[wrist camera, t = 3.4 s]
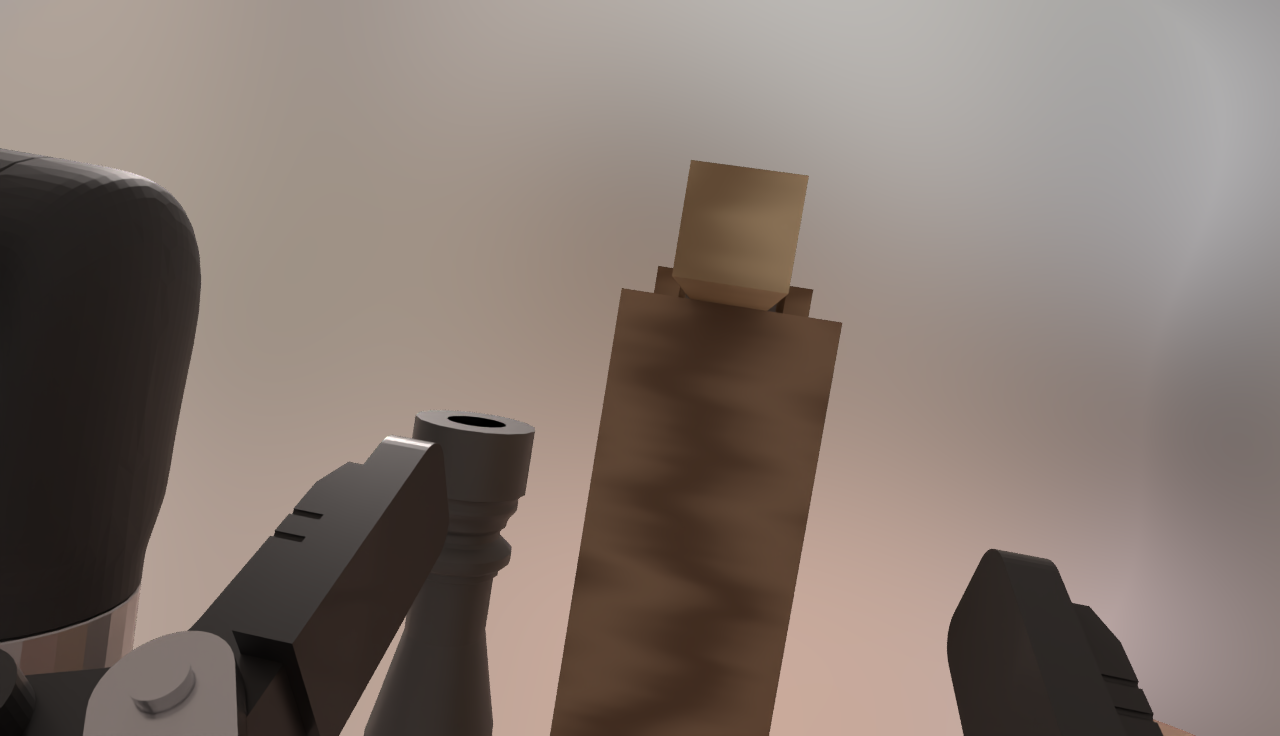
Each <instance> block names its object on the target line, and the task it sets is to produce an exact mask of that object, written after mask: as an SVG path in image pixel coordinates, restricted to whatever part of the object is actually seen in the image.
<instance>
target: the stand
mask: <svg viewBox="0 0 1280 736" xmlns="http://www.w3.org/2000/svg"><path fill="white" fill-rule="evenodd" d="M672 273H673V268H668V267H662V266H658V272H657V278H656V284H655V290H654V293H649V292H643V291H636V290H630V289H624V288H622V290H621V297H620V303H619V309H618V316H617V322H616V328H615V334H614V341H613V347H612V353H611V359H610V365H609V372H608V378H607V385H606V390H605V396H604V403H603V409H602V415H601V421H600V427H599V434H598V440H597V446H596V452H595V459H594V465H593V471H592V477H591V483H590V490H589V496H588V502H587V508H586V515H585V521H584V527H583V533H582V539H581V546H580V552H579V559H578V564H577V571H576V577H575V584H574V589H573V595H572V602H571V609H570V614H569V621H568V627H567V633H566V639H565V645H564V652H563V658H562V664H561V671H560V676H559V683H558V689H557V695H556V702H555V708H554V714H553V720H552V727H551V732H550V736H769V732H770V726H771V721H772V715H773V710H774V704H775V698H776V693H777V687H778V681H779V676H780V670H781V665H782V659H783V653H784V648H785V642H786V636H787V631H788V624H789V620H790V614H791V608H792V602H793V597H794V591H795V586H796V579H797V574H798V569H799V563H800V558H801V552H802V546H803V541H804V535H805V530H806V524H807V518H808V513H809V506H810V501H811V496H812V490H813V484H814V479H815V473H816V467H817V462H818V456H819V451H820V445H821V439H822V434H823V428H824V423H825V417H826V411H827V406H828V400H829V394H830V389H831V383H832V378H833V372H834V365H835V361H836V355H837V349H838V343H839V338H840V333H841V327H842V323H841V322H834V321H828V320H822V319H815V318H809V317H808V316H809V310H810V304H811V298H812V293H813V290H812V289H806V288H799V287H793V286H790V287H789V293H788V294H787V295H786V296H785V297H784V298H783V299H781V300H780V301H779V302H778V303H777V306H776V312H771V311H764V310H758V309H751V308H745V307H739V306H732V305H726V304H719V303H713V302H707V301H700V300H694V299H688V298H685V294H686V293H685V292H684V290H683V289H682V288H681V287H680V285H679V284H678V283H677V282H676V280H675V279H674V278H673V276H672Z"/></svg>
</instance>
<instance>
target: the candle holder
mask: <svg viewBox="0 0 1280 736" xmlns="http://www.w3.org/2000/svg"><path fill="white" fill-rule="evenodd" d="M534 433H535V428H534V427H533V426H530V425H529V424H527V423H524V422H520V421H517V420H514V419H510V418H505V417H500V416H495V415H489V414H482V413H475V412H465V411H452V410H430V411H422V412H419V413H418V414H416V417H415V424H414V430H413V437H412V439H417V440H422V441H428V442H433V443H438V444H440V445H441V447H442V450H443V455H444V465H445V476H446V487H447V498H448V509H449V525H448V531H447V536H446V540H445V543H444V546H443V549H442V551H441V553H440V555H439V557H438V559H437V561H436V563H435V565H434V566H433V568H432V570H431V572H430V574H429V575H428V577H427V579H426V581H425V582H424V584H423V586H422V588H421V590H420V591H419V593H418V595H417V597H416V599H415V600H414V602H413V604H412V606H411V608H410V609H409V611H408V613H407V616H406V622H405V629H404V632H403V634H402V637H401V639H400V642H399V644H398V647H397V650H396V652H395V654H394V657H393V660H392V662H391V665H390V667H389V670H388V672H387V675H386V678H385V680H384V683H383V685H382V688H381V690H380V693H379V695H378V698H377V700H376V703H375V705H374V708H373V710H372V713H371V715H370V718H369V720H368V723H367V726H366V728H365V732H364V736H492V728H493V718H492V706H491V696H490V684H489V671H488V658H487V646H486V633H485V627H486V620H487V614H488V607H489V600H490V594H491V587H492V581H493V578H494V577H495V576H497V574H498V571H499V570H500V569H502V568H504V567H505V566H506V565H508V563H509V561H510V556H511V546H510V544H509V543H508V542H507V541H506V540H505V539H504V538H503V537H502V536H501V535H500V531H501V530H502V529H503V528H505V526H506V523H507V521H508V519H509V518H510V517H511V516H512V515H513V514H514V513H515V511H516V510H517V505H518V499H519V498H520V497H522V496H524V495H525V491H526V484H527V478H528V471H529V465H530V459H531V452H532V446H533V439H534Z"/></svg>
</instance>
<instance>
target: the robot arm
mask: <svg viewBox="0 0 1280 736" xmlns="http://www.w3.org/2000/svg"><path fill="white" fill-rule="evenodd" d="M200 289H201V274H200V257H199V251H198V246H197V242H196V238H195V234H194V231H193V228H192V225H191V223H190V221H189V219H188V217H187V215H186V213H185V211H184V210H183V208H182V206H181V205H180V204H179V203H178V201H177V200H176V199H175V198H174V197H173V196H172V194H171V193H169V192H168V191H167V190H166V189H165V188H163V187H162V186H160V185H159V184H157V183H155V182H153V181H152V180H150V179H147V178H145V177H142V176H139V175H136V174H133V173H130V172H126V171H122V170H118V169H113V168H109V167H104V166H99V165H93V164H88V163H82V162H76V161H71V160H65V159H61V158H53V157H48V156H42V155H36V154H30V153H24V152H18V151H13V150H7V149H1V148H0V736H339V735H340V733H341V731H342V729H343V727H344V726H345V724H346V722H347V720H348V718H349V717H350V715H351V713H352V711H353V710H354V708H355V706H356V704H357V702H358V700H359V699H360V697H361V695H362V693H363V691H364V690H365V688H366V686H367V684H368V683H369V681H370V679H371V677H372V676H373V674H374V672H375V670H376V668H377V667H378V665H379V663H380V661H381V659H382V658H383V656H384V654H385V652H386V650H387V648H388V647H389V645H390V643H391V642H392V640H393V638H394V636H395V634H396V633H397V631H398V629H399V627H400V625H401V624H402V622H403V620H404V618H405V616H406V615H407V613H408V611H409V609H410V608H411V606H412V604H413V602H414V600H415V599H416V597H417V595H418V593H419V591H420V590H421V588H422V586H423V584H424V582H425V581H426V579H427V577H428V575H429V574H430V572H431V570H432V568H433V566H434V565H435V563H436V561H437V559H438V557H439V555H440V553H441V551H442V549H443V546H444V543H445V540H446V536H447V531H448V525H449V509H448V498H447V487H446V476H445V465H444V455H443V450H442V447H441V445H440V444H438V443H433V442H428V441H422V440H417V439H412V438H406V437H401V436H395V435H390V436H387V437H386V438H385V439H384V440H383V441H382V442H381V443H380V444H379V446H378V447H377V448H376V449H375V451H374V452H373V453H372V454H371V456H370V457H369V458H368V459H367V461H366V462H365V463H364V464H358V463H352V462H347V463H346V464H344V465H343V466H341V467H339V468H338V469H336V470H335V471H333V472H331V473H330V474H328V475H327V476H325V477H323V478H322V479H320V480H319V481H317V482H316V483H315V484H314V486H312V488H311V489H310V490H309V491H308V492H307V494H306V495H305V496H304V497H303V498H302V499H301V501H300V502H299V503H298V504H297V505H296V506H295V508H294V511H293V513H292V514H289V515H288V516H287V517H286V518H285V519H284V520H283V522H282V523H281V524H280V525H279V526H278V527H277V529H276V530H275V534H274V536H270V537H269V538H268V539H267V541H265V543H264V544H263V545H262V546H261V548H260V549H259V550H258V551H257V552H256V553H255V555H254V556H253V557H252V558H251V559H250V560H249V561H248V563H247V564H246V565H245V566H244V567H243V568H242V570H241V571H240V572H239V573H238V574H237V575H236V577H235V578H234V579H233V580H232V581H231V583H230V584H229V585H228V586H227V587H226V588H225V589H224V591H223V592H222V593H221V594H220V596H219V597H218V598H217V599H216V600H215V601H214V602H213V604H212V605H211V606H210V607H209V608H208V609H207V611H206V612H205V613H204V614H203V615H202V616H201V618H200V619H199V620H198V621H197V622H196V623H195V624H194V625H193V626H192V627H191V628H190V629H189V630H188V631H183V632H176V633H172V634H168V635H165V636H162V637H159V638H156V639H153V640H151V641H149V642H147V643H145V644H143V645H141V646H139V647H138V648H136V649H134V650H133V642H134V634H135V626H136V618H137V611H138V602H139V595H140V587H141V578H142V570H143V563H144V557H145V552H146V548H147V544H148V542H149V538H150V536H151V533H152V530H153V528H154V525H155V522H156V519H157V516H158V513H159V510H160V508H161V505H162V502H163V499H164V495H165V492H166V486H167V481H168V476H169V471H170V465H171V459H172V453H173V446H174V441H175V435H176V430H177V425H178V419H179V414H180V409H181V403H182V398H183V393H184V388H185V384H186V379H187V373H188V369H189V364H190V359H191V354H192V349H193V344H194V338H195V332H196V326H197V320H198V314H199V302H200ZM947 655H948V663H949V668H950V673H951V678H952V682H953V687H954V692H955V696H956V701H957V706H958V710H959V715H960V720H961V725H962V729H963V734H964V736H1163V734H1162V731H1161V729H1160V727H1159V725H1158V723H1157V722H1154V721H1153V712H1152V710H1151V707H1150V705H1149V703H1148V701H1147V699H1146V697H1145V694H1144V692H1143V690H1142V689H1139V688H1138V679H1137V677H1136V675H1135V673H1134V670H1133V668H1132V666H1131V664H1130V662H1129V660H1128V657H1127V655H1126V653H1125V651H1124V649H1123V647H1122V644H1121V642H1120V641H1119V640H1118V639H1117V638H1116V637H1115V636H1114V634H1113V633H1112V632H1111V631H1110V630H1109V629H1108V627H1107V626H1106V625H1105V624H1104V623H1103V622H1102V621H1101V619H1100V618H1099V617H1098V616H1097V615H1096V614H1095V612H1094V611H1093V610H1092V609H1091V608H1090V607H1089V606H1084V605H1080V604H1075V603H1072V602H1071V600H1070V598H1069V595H1068V593H1067V590H1066V588H1065V585H1064V583H1063V581H1062V579H1061V576H1060V573H1059V571H1058V569H1057V567H1056V566H1055V564H1054V563H1053V562H1052V561H1051V560H1048V559H1044V558H1039V557H1034V556H1028V555H1023V554H1018V553H1012V552H1007V551H1001V550H996V549H990V550H988V551H987V552H986V553H985V554H984V556H983V557H982V559H981V561H980V563H979V565H978V567H977V569H976V571H975V573H974V575H973V577H972V579H971V581H970V583H969V585H968V587H967V589H966V591H965V593H964V595H963V597H962V599H961V600H960V602H959V605H958V606H957V608H956V610H955V612H954V614H953V617H952V619H951V622H950V626H949V631H948V640H947Z"/></svg>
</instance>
